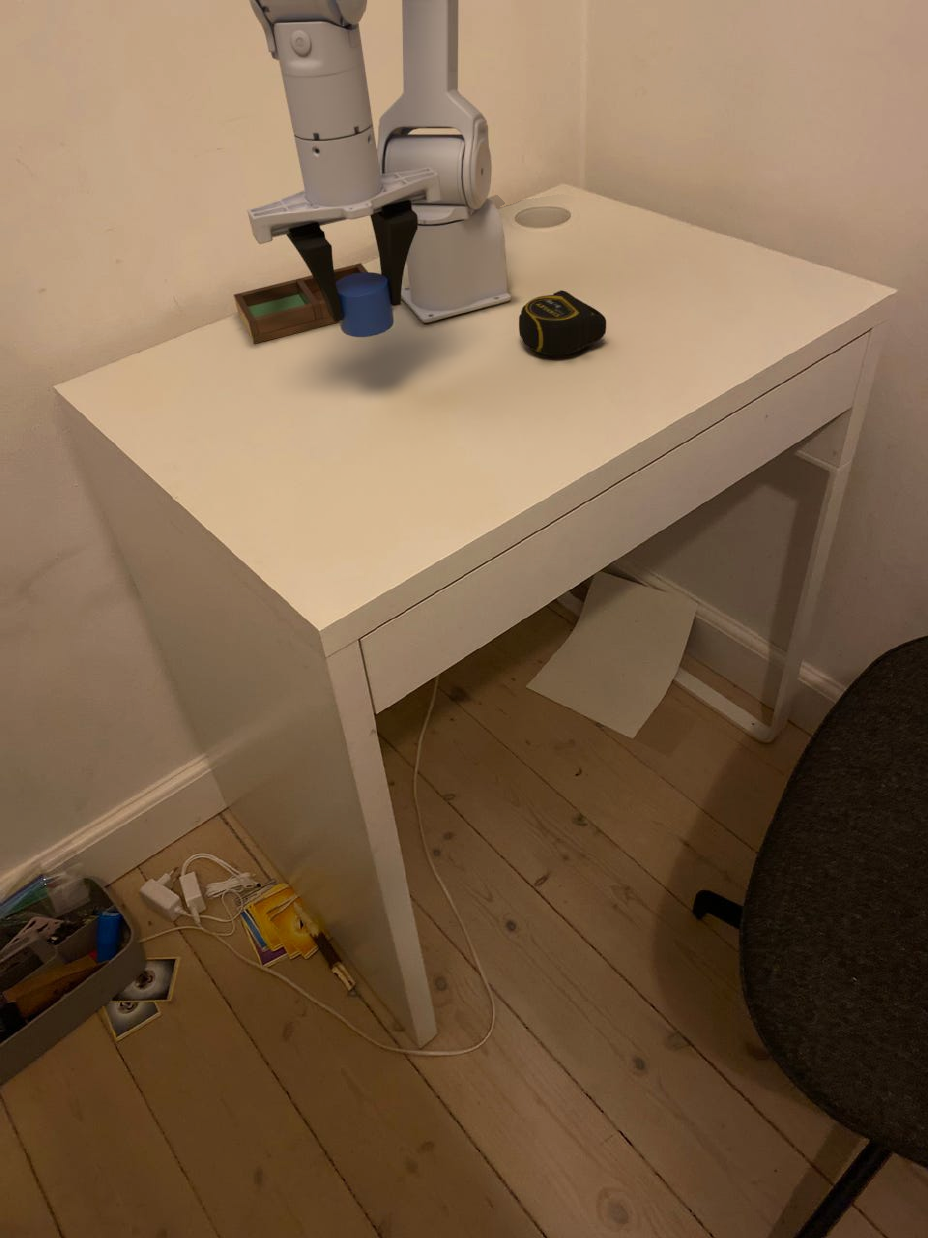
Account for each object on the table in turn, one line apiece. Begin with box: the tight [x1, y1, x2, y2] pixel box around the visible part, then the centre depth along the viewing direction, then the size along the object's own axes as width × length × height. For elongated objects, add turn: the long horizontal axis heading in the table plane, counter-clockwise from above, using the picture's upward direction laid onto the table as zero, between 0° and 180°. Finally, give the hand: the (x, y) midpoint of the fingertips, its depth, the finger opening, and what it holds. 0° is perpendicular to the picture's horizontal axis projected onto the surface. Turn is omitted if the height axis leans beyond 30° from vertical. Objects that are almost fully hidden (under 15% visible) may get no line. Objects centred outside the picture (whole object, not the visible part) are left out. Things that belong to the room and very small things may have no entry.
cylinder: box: [336, 271, 395, 338], centre depth 75 cm, size 4×4×4 cm
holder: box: [233, 262, 369, 345], centre depth 94 cm, size 14×7×2 cm, turn 112°
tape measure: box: [518, 290, 607, 356], centre depth 84 cm, size 7×7×4 cm
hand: (364, 308), depth 76 cm, fingers closed on cylinder, 4 cm apart
